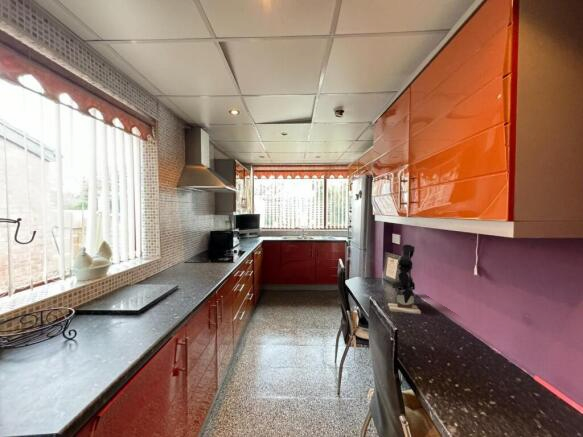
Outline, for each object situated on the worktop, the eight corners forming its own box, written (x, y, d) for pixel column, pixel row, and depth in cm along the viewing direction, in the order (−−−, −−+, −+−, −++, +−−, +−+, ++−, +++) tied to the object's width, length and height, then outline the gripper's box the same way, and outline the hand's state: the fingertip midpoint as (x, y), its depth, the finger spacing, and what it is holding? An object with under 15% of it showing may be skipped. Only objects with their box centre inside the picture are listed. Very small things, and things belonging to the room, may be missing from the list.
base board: (388, 304, 182) (388, 303, 181) (415, 307, 178) (415, 305, 178) (391, 311, 170) (391, 309, 170) (420, 313, 166) (421, 311, 166)
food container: (412, 305, 177) (413, 291, 177) (415, 309, 171) (415, 294, 171) (393, 304, 180) (393, 289, 179) (395, 307, 174) (395, 292, 173)
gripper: (389, 273, 184) (388, 295, 184) (394, 280, 166) (394, 304, 166) (406, 274, 182) (405, 296, 182) (413, 281, 164) (412, 306, 164)
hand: (404, 300), depth 174 cm, fingers open, 9 cm apart
